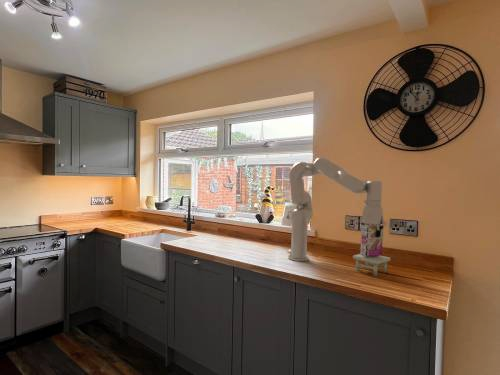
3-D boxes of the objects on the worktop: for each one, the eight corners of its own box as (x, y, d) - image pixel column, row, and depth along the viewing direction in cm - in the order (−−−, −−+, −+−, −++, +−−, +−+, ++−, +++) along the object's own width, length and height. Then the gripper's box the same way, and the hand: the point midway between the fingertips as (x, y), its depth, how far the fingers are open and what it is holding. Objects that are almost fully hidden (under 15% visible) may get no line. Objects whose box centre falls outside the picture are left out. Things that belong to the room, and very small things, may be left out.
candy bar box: (366, 256, 158) (367, 226, 158) (359, 254, 162) (361, 224, 162) (382, 255, 162) (383, 225, 162) (375, 253, 166) (376, 224, 166)
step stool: (352, 270, 163) (352, 255, 163) (365, 266, 172) (366, 252, 172) (376, 276, 152) (377, 261, 152) (389, 272, 161) (390, 257, 161)
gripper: (355, 202, 166) (354, 234, 166) (385, 204, 153) (384, 239, 153) (362, 202, 171) (361, 233, 171) (392, 204, 157) (391, 238, 158)
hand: (372, 235), depth 162 cm, fingers closed on candy bar box, 6 cm apart
